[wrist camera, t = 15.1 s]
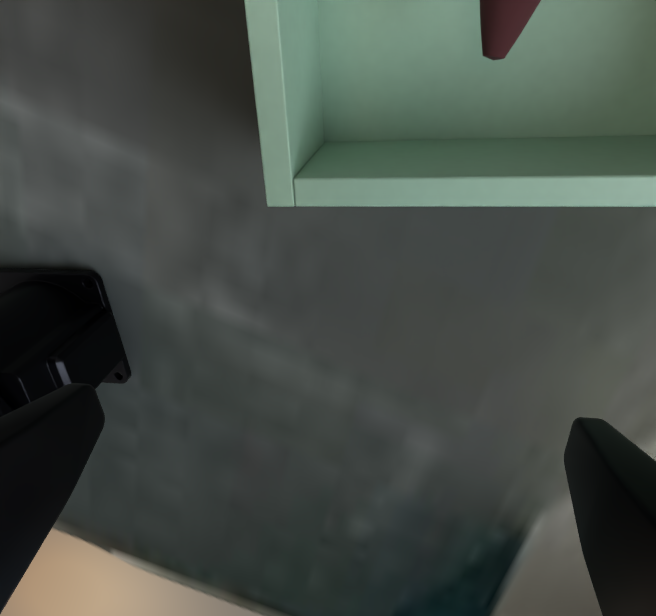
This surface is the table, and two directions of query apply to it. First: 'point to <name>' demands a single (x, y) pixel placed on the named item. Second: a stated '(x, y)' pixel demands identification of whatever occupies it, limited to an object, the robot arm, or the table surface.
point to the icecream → (503, 24)
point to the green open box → (454, 104)
